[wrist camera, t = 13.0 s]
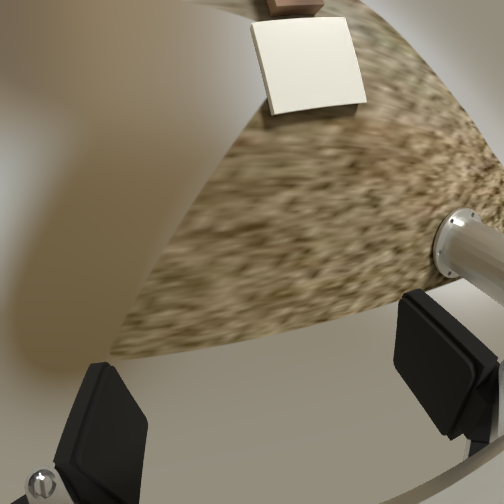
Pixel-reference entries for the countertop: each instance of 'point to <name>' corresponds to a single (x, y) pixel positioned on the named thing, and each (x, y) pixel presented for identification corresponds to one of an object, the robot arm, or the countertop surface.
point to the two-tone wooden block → (294, 7)
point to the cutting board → (307, 63)
